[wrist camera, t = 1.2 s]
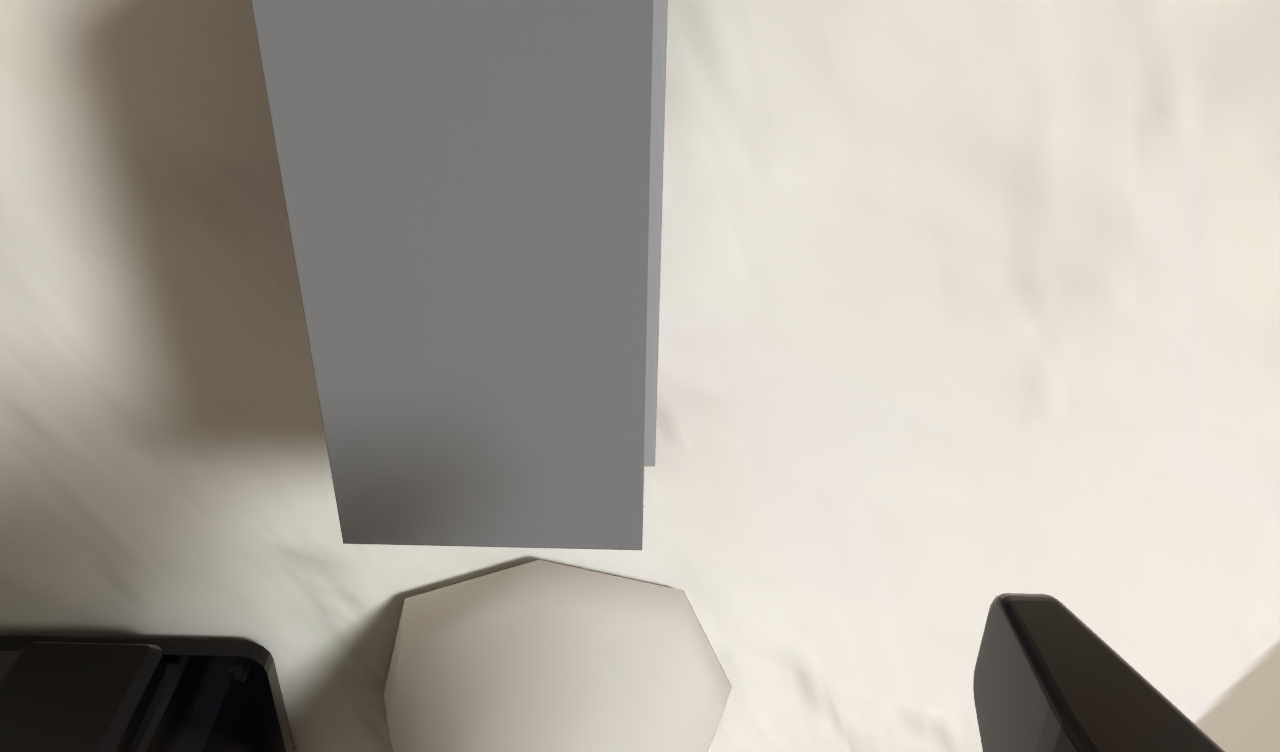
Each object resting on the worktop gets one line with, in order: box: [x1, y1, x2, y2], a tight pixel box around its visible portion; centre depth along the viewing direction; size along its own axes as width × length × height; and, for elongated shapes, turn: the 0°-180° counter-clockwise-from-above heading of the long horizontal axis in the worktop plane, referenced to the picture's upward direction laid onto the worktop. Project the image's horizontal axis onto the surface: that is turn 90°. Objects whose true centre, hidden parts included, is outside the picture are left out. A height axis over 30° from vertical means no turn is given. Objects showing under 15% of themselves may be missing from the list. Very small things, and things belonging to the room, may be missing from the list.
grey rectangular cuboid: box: [251, 0, 668, 550], centre depth 15 cm, size 8×4×5 cm, turn 179°
